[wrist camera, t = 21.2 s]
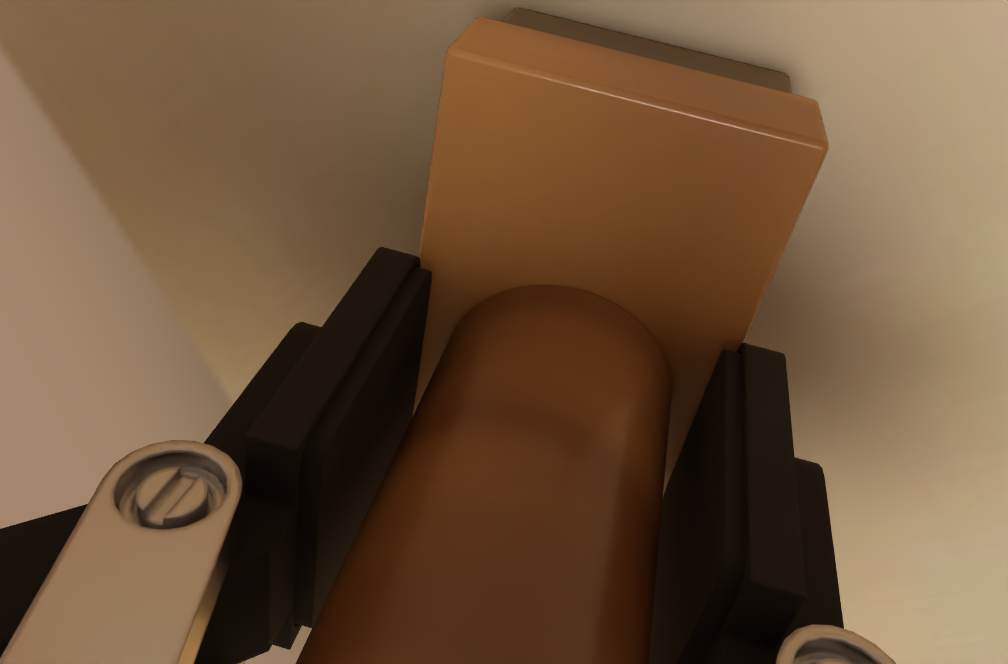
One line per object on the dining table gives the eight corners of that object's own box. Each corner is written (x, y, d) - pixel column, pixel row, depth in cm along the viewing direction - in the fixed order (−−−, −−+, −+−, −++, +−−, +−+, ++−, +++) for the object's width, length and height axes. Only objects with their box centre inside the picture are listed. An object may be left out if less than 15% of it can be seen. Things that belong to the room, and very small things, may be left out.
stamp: (429, 420, 17) (204, 923, 10) (502, -13, 12) (154, 353, 5) (644, 482, 17) (579, 1051, 9) (811, 62, 12) (946, 581, 4)
